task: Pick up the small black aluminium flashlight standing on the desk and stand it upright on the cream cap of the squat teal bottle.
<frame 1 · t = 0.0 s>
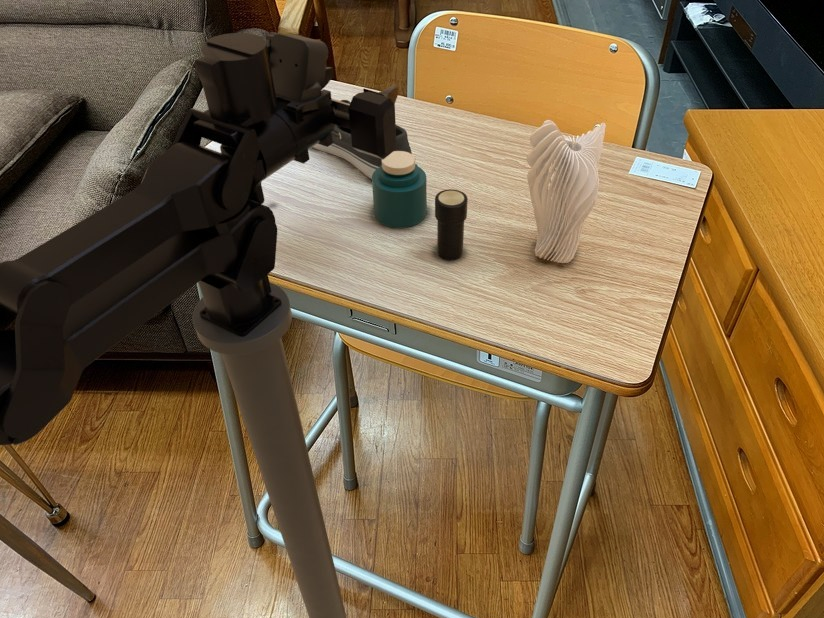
hand: (363, 80, 77), 17 cm above the table, tool horizontal, fingers open, 9 cm apart
flashlight: (450, 252, 83), on the table
beige finned vase: (553, 252, 83), on the table
boat shoe: (353, 151, 100), on the table
bottle: (400, 212, 89), on the table
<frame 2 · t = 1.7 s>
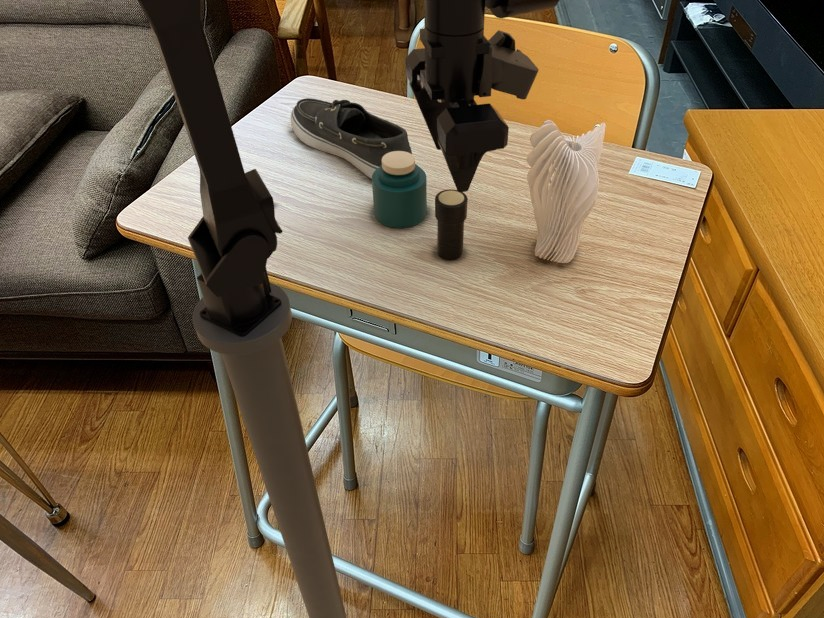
hand: (451, 169, 74), 12 cm above the table, tool pointing down, fingers open, 9 cm apart
nothing on the table moved.
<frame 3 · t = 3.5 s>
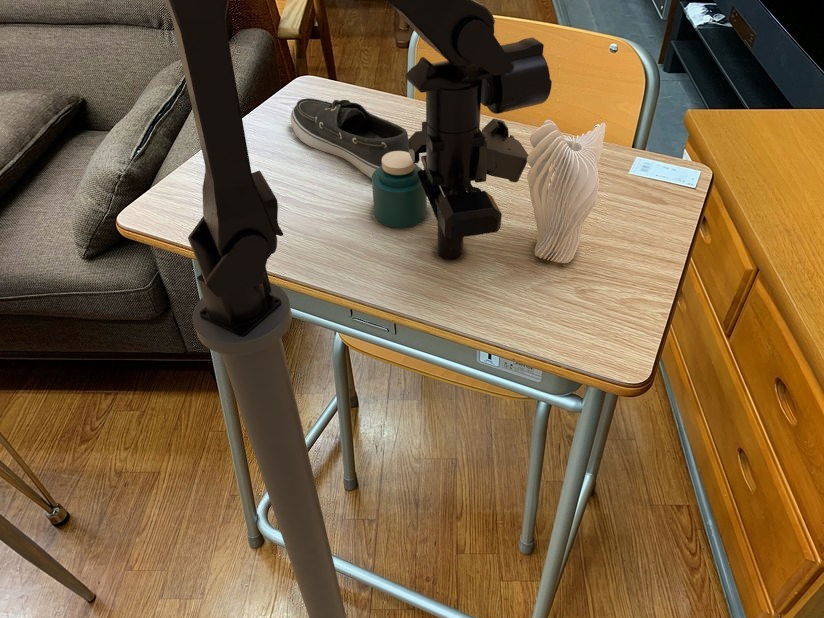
hand: (450, 239, 81), 2 cm above the table, tool pointing down, fingers closed on flashlight, 3 cm apart
flashlight: (450, 252, 83), on the table, touching gripper
everything else where it was.
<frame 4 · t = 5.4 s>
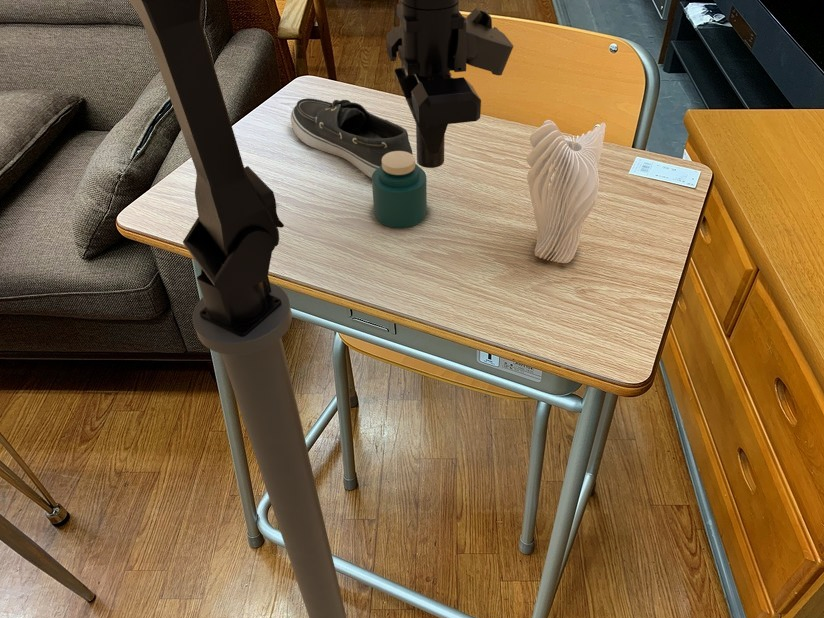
hand: (430, 145, 76), 13 cm above the table, tool pointing down, fingers closed on flashlight, 3 cm apart
flashlight: (430, 161, 77), point 11 cm above the table, touching gripper
everything else where it was.
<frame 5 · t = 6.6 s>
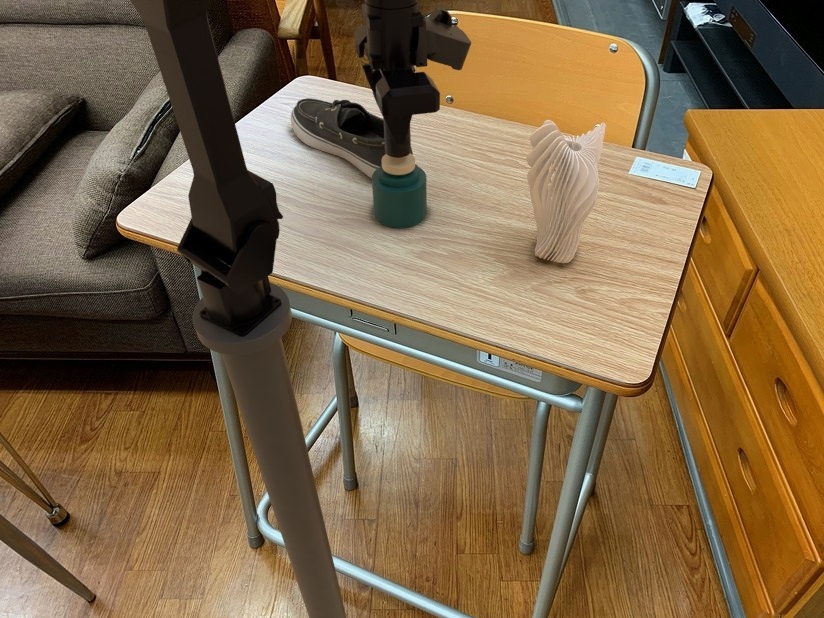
hand: (397, 136, 81), 11 cm above the table, tool pointing down, fingers closed on flashlight, 3 cm apart
flashlight: (398, 151, 82), point 9 cm above the table, touching gripper
everything else where it was.
when the fingers open (10 cm above the table, at t = 7.2 s): flashlight stays where it is, resting on bottle.
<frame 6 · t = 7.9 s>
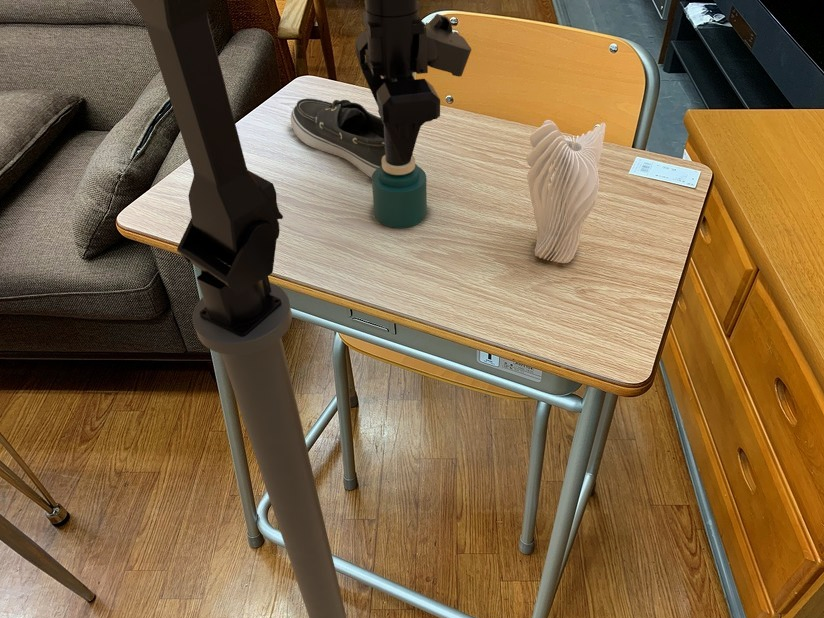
hand: (397, 141, 81), 10 cm above the table, tool pointing down, fingers open, 9 cm apart
flashlight: (398, 159, 83), point 8 cm above the table, touching bottle
everything else where it was.
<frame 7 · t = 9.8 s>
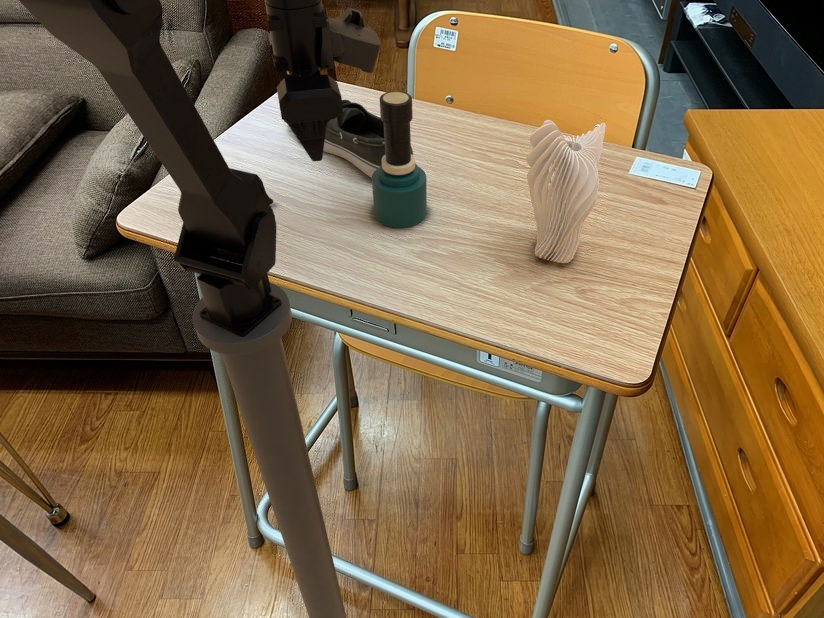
hand: (312, 140, 78), 12 cm above the table, tool pointing down, fingers open, 9 cm apart
nothing on the table moved.
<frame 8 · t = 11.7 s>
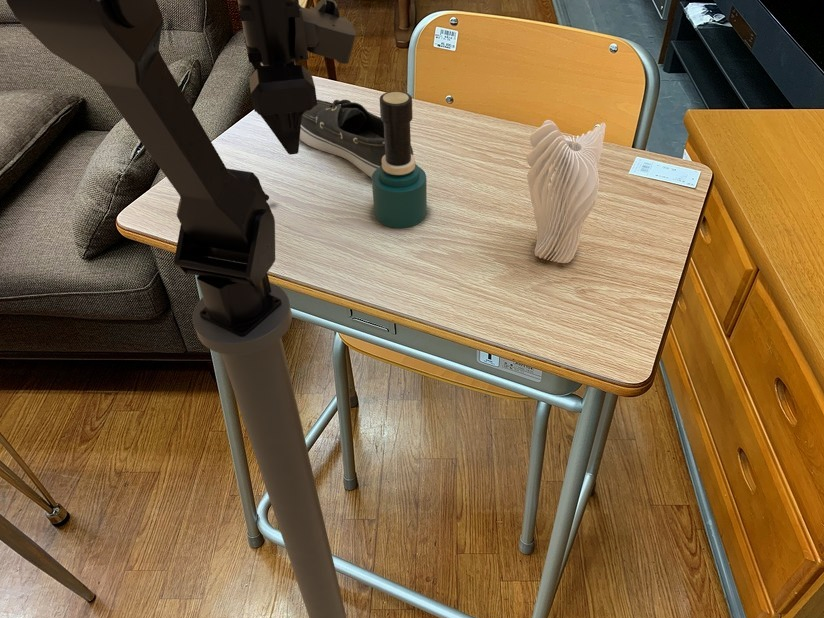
hand: (289, 133, 77), 13 cm above the table, tool pointing down, fingers open, 9 cm apart
nothing on the table moved.
at the end: flashlight 0.0 cm off-centre on the bottle, point 8.0 cm above the bottle's base; flashlight tilted 0°; the gripper is holding nothing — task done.
